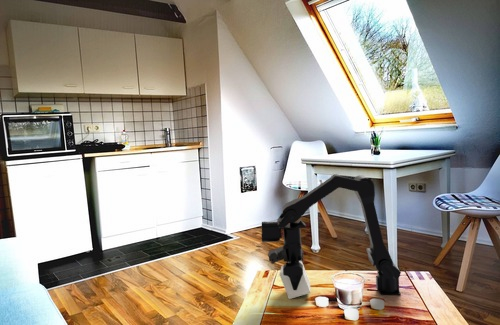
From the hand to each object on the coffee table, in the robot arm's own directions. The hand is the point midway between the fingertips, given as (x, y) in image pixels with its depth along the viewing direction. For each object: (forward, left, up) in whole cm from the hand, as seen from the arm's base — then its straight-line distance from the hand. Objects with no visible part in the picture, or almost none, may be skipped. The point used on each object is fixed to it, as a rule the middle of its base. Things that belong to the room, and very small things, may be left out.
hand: (295, 284), depth 124 cm
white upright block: (-1, 0, -2) cm, 3 cm away
